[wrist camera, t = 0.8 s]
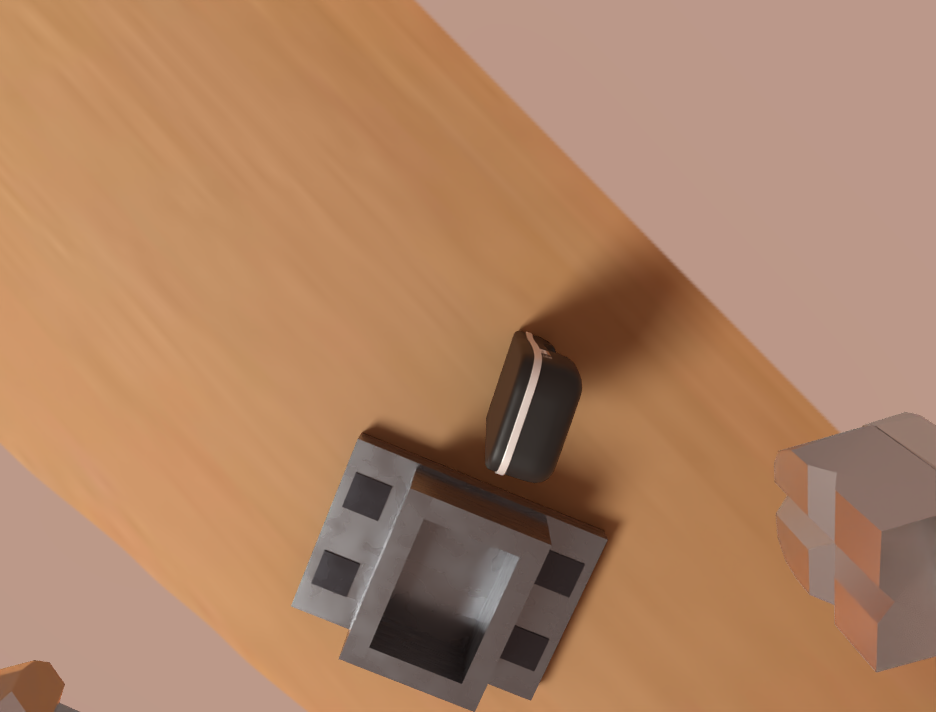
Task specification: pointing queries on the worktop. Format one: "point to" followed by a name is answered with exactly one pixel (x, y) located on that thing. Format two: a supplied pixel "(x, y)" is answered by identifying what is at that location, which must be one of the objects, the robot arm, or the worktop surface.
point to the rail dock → (445, 576)
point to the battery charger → (531, 410)
